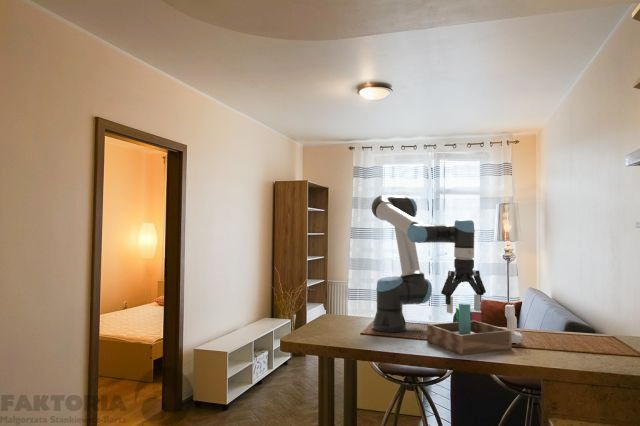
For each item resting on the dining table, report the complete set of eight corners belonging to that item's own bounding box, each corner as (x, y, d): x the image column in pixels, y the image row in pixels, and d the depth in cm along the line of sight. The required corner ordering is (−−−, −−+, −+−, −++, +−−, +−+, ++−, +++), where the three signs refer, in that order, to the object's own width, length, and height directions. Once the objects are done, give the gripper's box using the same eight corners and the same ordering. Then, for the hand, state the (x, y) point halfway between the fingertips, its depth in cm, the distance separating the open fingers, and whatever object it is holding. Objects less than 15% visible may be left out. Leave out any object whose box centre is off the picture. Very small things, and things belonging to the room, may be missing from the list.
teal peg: (464, 344, 166) (463, 305, 167) (456, 341, 171) (456, 303, 171) (473, 343, 168) (472, 304, 169) (465, 340, 172) (465, 303, 173)
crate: (427, 342, 172) (427, 324, 173) (474, 337, 181) (474, 320, 182) (460, 355, 154) (460, 335, 154) (511, 349, 163) (511, 330, 163)
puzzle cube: (482, 335, 184) (482, 312, 185) (458, 334, 186) (458, 311, 187) (478, 330, 194) (478, 308, 194) (455, 329, 196) (455, 307, 196)
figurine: (504, 344, 169) (504, 306, 170) (498, 339, 178) (498, 302, 179) (524, 345, 168) (523, 307, 168) (517, 339, 177) (516, 303, 178)
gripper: (444, 259, 163) (444, 315, 162) (495, 258, 172) (494, 311, 172) (432, 258, 170) (431, 311, 169) (481, 257, 179) (481, 308, 178)
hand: (463, 311), depth 170 cm, fingers open, 13 cm apart
